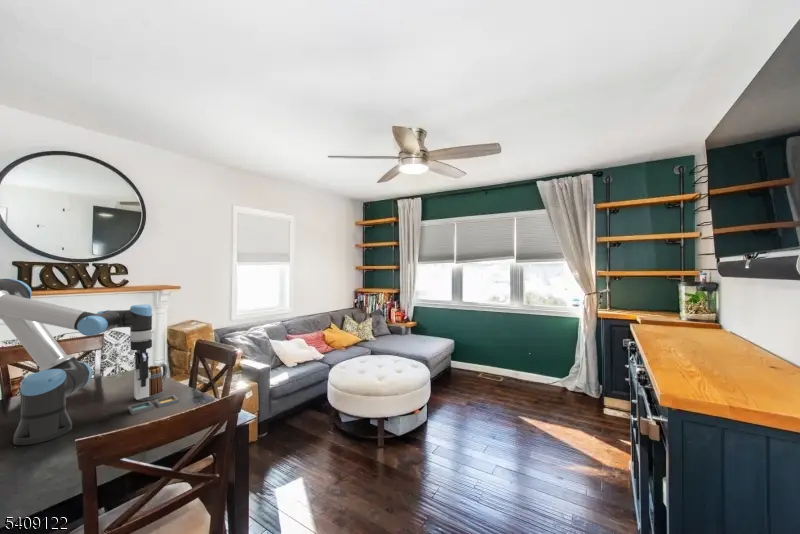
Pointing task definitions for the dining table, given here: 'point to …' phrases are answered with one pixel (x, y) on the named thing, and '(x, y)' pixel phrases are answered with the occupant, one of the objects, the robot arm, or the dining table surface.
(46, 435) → the robot arm
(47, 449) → the dining table surface
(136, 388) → the plug
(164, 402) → the panel
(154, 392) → the mug
